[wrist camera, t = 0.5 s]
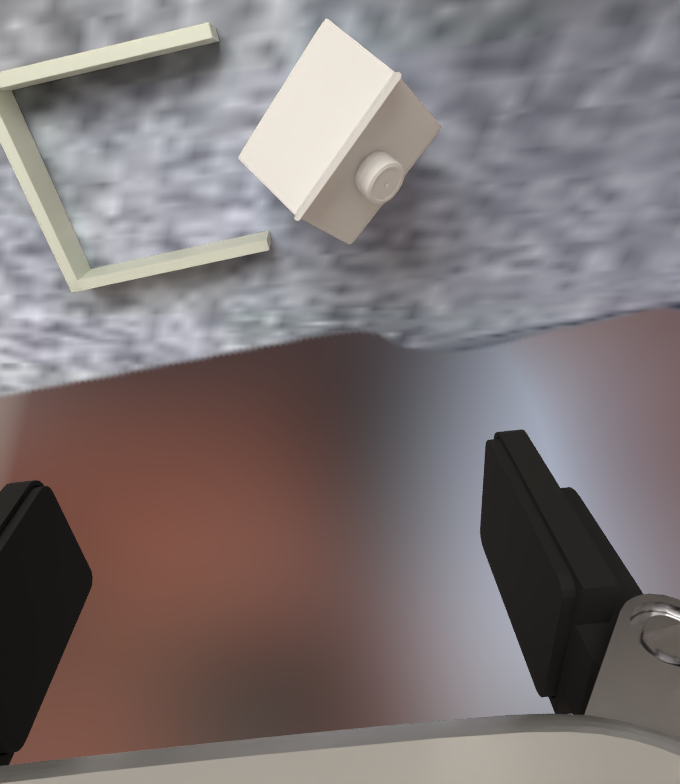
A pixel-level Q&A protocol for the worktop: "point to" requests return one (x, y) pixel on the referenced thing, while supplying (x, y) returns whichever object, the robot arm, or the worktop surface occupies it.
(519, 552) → the robot arm
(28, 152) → the bay
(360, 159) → the milk carton
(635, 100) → the worktop surface
